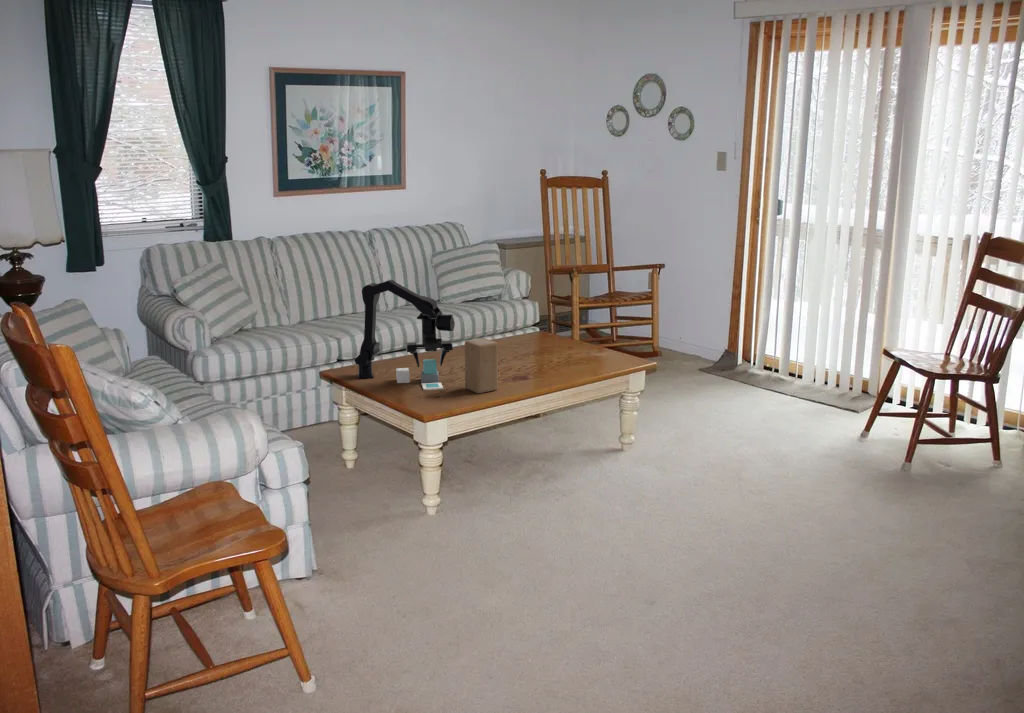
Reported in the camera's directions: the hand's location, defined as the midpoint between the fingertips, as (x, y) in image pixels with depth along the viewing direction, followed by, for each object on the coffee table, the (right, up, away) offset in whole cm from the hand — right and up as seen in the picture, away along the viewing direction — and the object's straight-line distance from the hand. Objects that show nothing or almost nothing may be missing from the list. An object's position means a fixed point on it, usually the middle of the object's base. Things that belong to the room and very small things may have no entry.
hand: (429, 366), depth 373 cm
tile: (+2, -8, -7) cm, 11 cm away
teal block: (0, -2, +1) cm, 3 cm away
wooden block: (+22, -9, -10) cm, 26 cm away
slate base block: (0, -6, +2) cm, 6 cm away
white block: (-11, -6, +1) cm, 13 cm away
